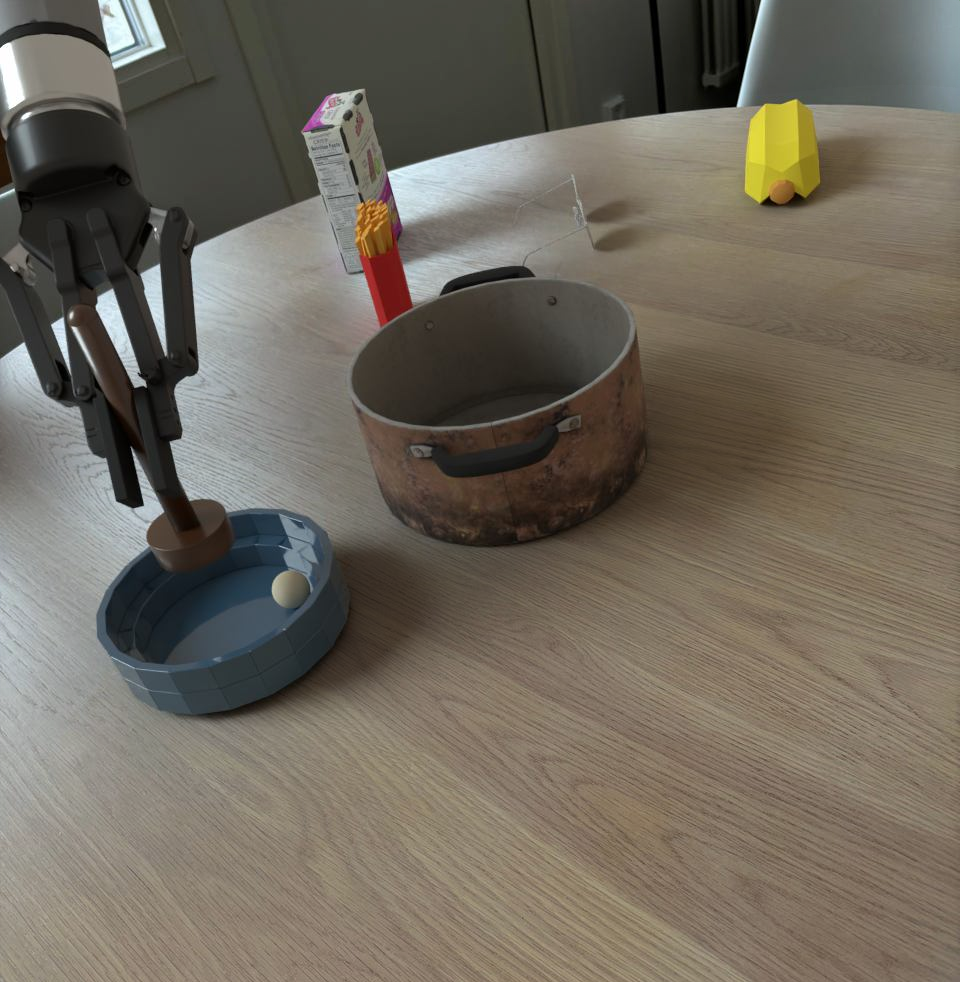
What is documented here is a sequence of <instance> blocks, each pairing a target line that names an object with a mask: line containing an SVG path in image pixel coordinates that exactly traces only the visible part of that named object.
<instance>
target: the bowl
mask: <svg viewBox="0 0 960 982" xmlns="http://www.w3.org/2000/svg"><path fill="white" fill-rule="evenodd" d="M226 512H227V511H226ZM227 514H228V517H229V519H230V521H231V523H232V525H233V527H234V530H235V532H236V538H235V542H234V544H233V546H232V547H231V549H230V550H229V551H228V552H227V553H226V554H225V555H224V556H223V557H222V558H221V559H219V560H218V561H216V562H215V563H213V564H211V565H209V566H207V567H205V568H202V569H199V570H196V571H192V572H186V573H174V572H169V571H167V570H165V569H163V568H162V567H161V566H160V565H159V563H158V561H157V559H156V557H155V555H154V553H153V552H152V550H151V548H150V546H149V545H148V547H147V548H145V549H144V550H143V551H142V552H140V553H139V554H138V555H137V556H135V557H134V558H133V559H132V560H130V561H129V562H128V563H126V565H125V566H124V567H123V568H122V570H121V571H120V572H119V573H118V574H117V575H116V576H115V578H114V579H113V581H112V582H111V583H110V584H109V585H108V587H106V589H105V592H104V594H103V596H102V599H101V601H100V603H99V607H98V609H97V611H96V614H95V619H96V620H95V621H96V639H97V640H98V642H99V643H100V645H101V646H102V648H103V650H104V651H105V653H106V655H107V656H108V658H109V659H110V661H111V663H112V664H113V666H114V668H115V669H116V671H117V673H118V674H119V675H120V677H121V678H122V681H124V683H125V685H126V686H127V687H128V689H129V691H130V692H131V693H132V695H133V696H134V698H135V699H136V700H139V701H140V702H142V703H144V704H146V705H148V706H150V707H152V708H154V709H156V710H158V711H160V712H166V713H175V714H184V715H191V716H196V715H203V714H211V713H219V712H225V711H232V710H234V709H237V708H240V707H242V706H246V705H248V704H251V703H253V702H256V701H259V700H261V699H265V698H267V697H270V696H272V695H273V694H275V693H277V692H278V691H280V690H282V689H283V688H285V687H287V686H288V685H290V684H292V683H293V682H295V681H296V680H298V679H299V678H301V677H303V676H304V675H305V674H307V672H309V671H310V669H312V667H314V666H315V665H316V664H317V662H319V661H320V660H321V659H322V658H323V657H324V656H325V655H326V654H327V653H328V652H329V651H330V650H331V649H332V647H333V646H334V644H335V643H336V640H337V639H338V638H339V635H340V634H341V633H342V631H343V629H344V627H345V625H346V623H347V621H348V615H349V608H350V602H351V593H350V590H349V588H348V585H347V582H346V578H345V577H344V574H343V571H342V569H341V566H340V563H339V560H338V558H337V555H336V552H335V550H334V548H333V545H332V543H331V540H330V537H329V534H328V532H327V531H326V530H325V529H324V528H323V527H321V526H320V525H319V524H318V523H317V522H315V521H314V519H312V518H310V517H309V516H307V515H304V514H300V513H297V512H294V511H291V510H288V509H284V508H265V507H264V508H263V507H251V508H244V509H239V510H234V511H228V512H227ZM289 570H293V571H297V572H300V573H302V574H303V575H304V576H305V577H306V578H307V579H308V581H309V584H310V596H309V597H308V599H307V600H306V602H305V603H304V604H303V605H302V606H300V607H298V608H293V609H289V608H285V607H282V606H281V605H279V604H278V603H277V602H276V601H275V599H274V597H273V595H272V584H273V581H274V580H275V578H276V577H277V576H278V575H279V574H280V573H282V572H285V571H289Z"/></svg>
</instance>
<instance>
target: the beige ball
mask: <svg viewBox="0 0 960 982" xmlns="http://www.w3.org/2000/svg"><path fill="white" fill-rule="evenodd" d="M272 595H273V597H274V599H275V601H276V602H277V603H278V604H279V605H281V606H282V607H285V608H289V609H293V608H298V607H300V606H302V605H303V604H304V603H305V602H306V600H307V599H308V597H309V596H310V584H309V581H308V579H307V578H306V577H305V576H304V575H303V574H302V573H300V572H297V571H293V570H289V571H285V572H282V573H280V574H279V575H278V576H277V577H276V578H275V580H274V581H273V584H272Z"/></svg>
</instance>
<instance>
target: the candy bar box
mask: <svg viewBox="0 0 960 982" xmlns="http://www.w3.org/2000/svg"><path fill="white" fill-rule="evenodd" d="M366 92H367V91H366V89H365V88H359V89H354V90H348V91H341V92H339V93H338V92H336V93H331V94H330V95H327V96H325V98H324V99H323V101H322V102H321V104H320V105H319V107H318V108H317V109H316V111H315V112H314V113H313V115H312V116H311V117H310V119H309V120H308V122H307V123H306V124H305V126H304V127H303V129H302V130H301V131H300V132H301V136H302V139H303V142H304V145H305V148H306V150H307V155H308V157H309V161H310V163H311V164H310V165H311V167H312V170H313V173H314V176H315V179H316V183H317V186H318V189H319V192H320V195H321V198H322V201H323V204H324V207H325V209H326V210H325V211H326V213H327V214H326V215H327V217H328V220H329V222H330V225H331V229H332V232H333V236H334V238H335V241H336V245H337V248H338V251H339V254H340V257H341V260H342V263H343V267H344V270H345V272H346V274H347V275H355V274H361V273H364V270H363V267H362V264H361V261H360V257H359V255H360V253H359V250H358V248H357V245H356V243H355V239H356V238H357V236H356V233H355V229H356V228H357V223H356V221H357V217H358V216H359V215H358V213H357V207H358V205H359V204H360V203H361V204H362V202H363V204H364V206H366V204H365V203H366V202H367V201H368V200H369V199H370V200H371V202H372V201H373V200H375V201H376V207H377V204H378V203H379V202H380V201H381V200H382V203H383V205H384V204H385V203H386V205H387V207H388V211H389V219H390V226H392V227H393V230H394V234H395V238H396V241H398V239H399V237H400V235H401V233H402V231H403V228H404V227H403V224H402V221H401V218H400V214H399V209H398V207H397V202H396V198H395V195H394V192H393V188H392V184H391V181H390V177H389V173H388V170H387V166H386V163H385V160H384V154H383V151H382V147H381V144H380V141H379V140H380V139H379V135H378V133H377V130H376V126H375V121H374V120H373V114H372V111H371V108H370V103H369V99H368V97H367V93H366Z"/></svg>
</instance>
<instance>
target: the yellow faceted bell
mask: <svg viewBox="0 0 960 982" xmlns="http://www.w3.org/2000/svg"><path fill="white" fill-rule="evenodd" d="M817 139H818V138H817V134H816V127H815V122H814V115H813V111H812V110H811V109H810V108H808V107H807V105H804V104H803V103H802V102H801V101H800V100H798V98H795V99H792V100H789V101H786V102H784V103H764V104H763V106H762V107H761V108H760V109H759V110H758V111H757V112H756V114H755V115H754V116H753V117H752V118H751V119H750V121H749V128H748V136H747V143H746V150H745V151H746V153H745V171H744V172H745V173H744V193H745V194H746V195H748V196H749V197H750V198H751V199H752V200H754V201H755V202H756V203H757V204H759V205H762V203H764V202H765V201H766V200H767V199H770V200H771V201H772V202H774V203H776V204H778V205H782V204H787V203H788V202H789V201H790V200H792V198H794V196H795V193H797V194H798V195H800V196H801V197H802V198H803V199H804V200H805V199H806V198H807V197H808V196H809V195H810V194H811V193H812V192H813V191H814V190H815V189H816V187H818V186H819V184H820V183H821V175H820V157H819V149H818V147H819V146H818V140H817Z"/></svg>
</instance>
